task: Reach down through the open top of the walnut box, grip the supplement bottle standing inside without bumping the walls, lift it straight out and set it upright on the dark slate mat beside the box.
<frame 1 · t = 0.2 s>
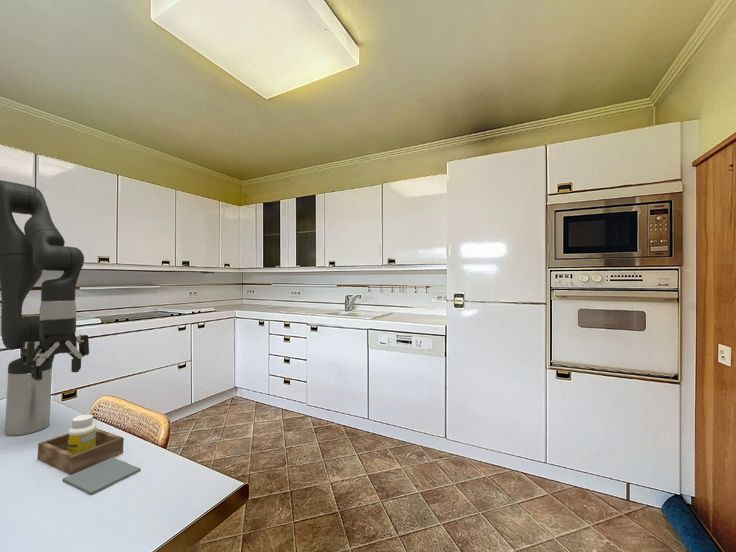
hand: (57, 375, 92), 18 cm above the table, tool pointing down, fingers open, 8 cm apart
slate mat: (102, 475, 76), on the table
supplement bottle: (81, 457, 84), resting in walnut box
walnut box: (81, 456, 84), on the table
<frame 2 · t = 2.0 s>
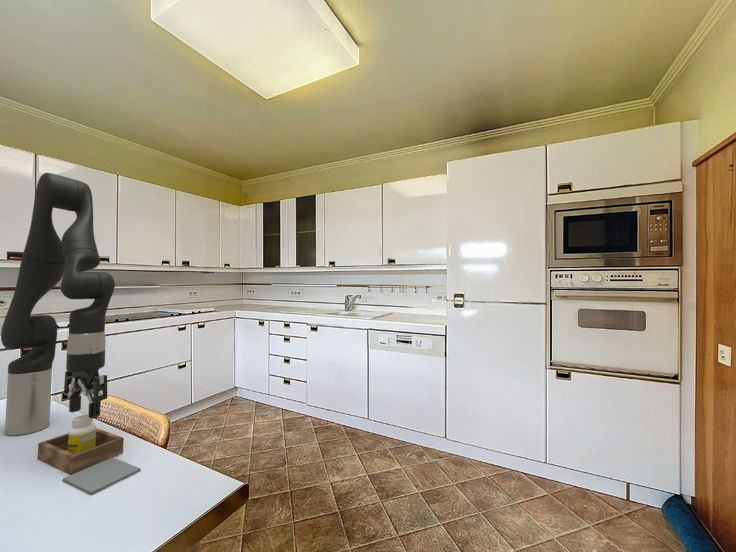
hand: (84, 414, 84), 11 cm above the table, tool pointing down, fingers open, 8 cm apart
nothing on the table moved.
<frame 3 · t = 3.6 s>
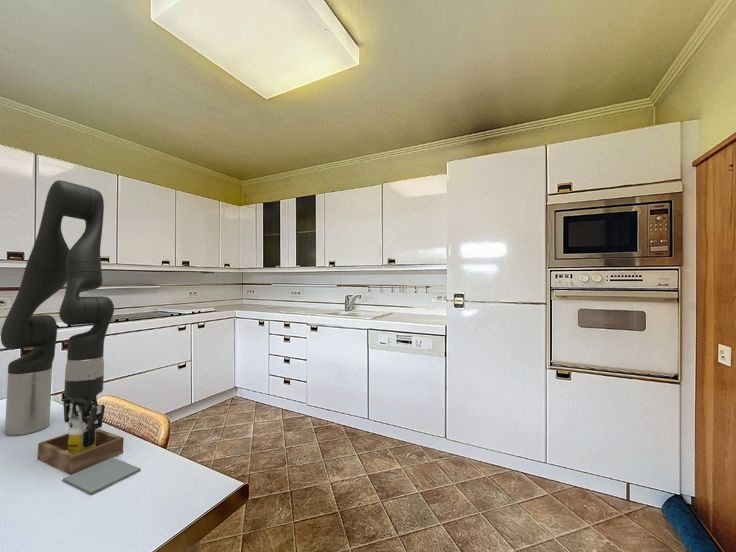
hand: (81, 442, 84), 4 cm above the table, tool pointing down, fingers closed on supplement bottle, 5 cm apart
supplement bottle: (81, 457, 84), resting in walnut box, touching gripper
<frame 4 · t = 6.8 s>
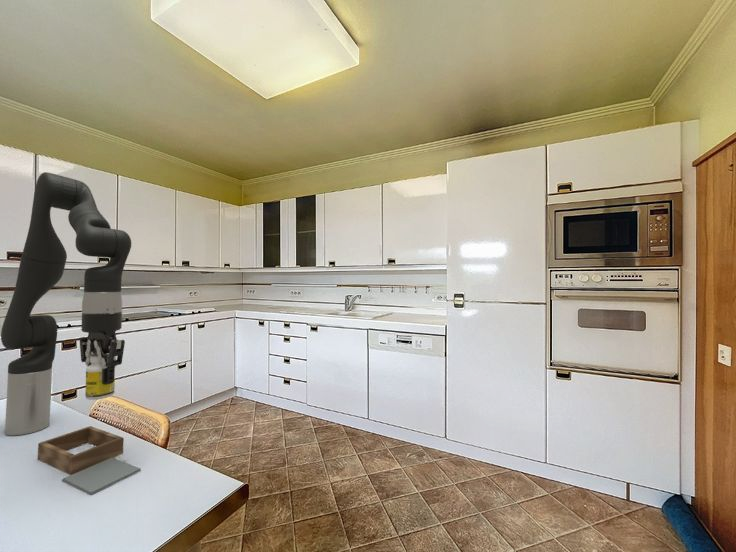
hand: (100, 381, 79), 20 cm above the table, tool pointing down, fingers closed on supplement bottle, 5 cm apart
supplement bottle: (100, 397, 79), point 17 cm above the table, touching gripper
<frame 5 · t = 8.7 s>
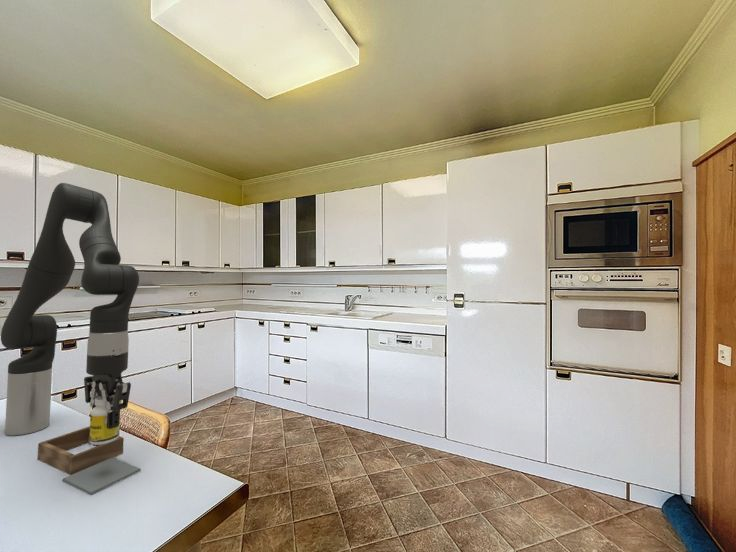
hand: (105, 424, 76), 12 cm above the table, tool pointing down, fingers closed on supplement bottle, 5 cm apart
supplement bottle: (104, 440, 76), point 8 cm above the table, touching gripper
when the fingers open (5 cm above the table, at t = 10.3 s): supplement bottle drops 1 cm, resting on slate mat.
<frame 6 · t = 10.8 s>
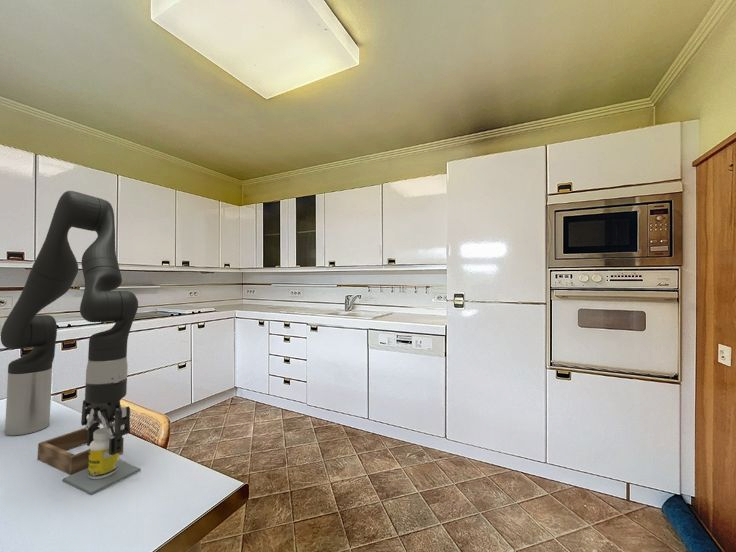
hand: (103, 449, 76), 6 cm above the table, tool pointing down, fingers open, 8 cm apart
supplement bottle: (103, 474, 76), resting on slate mat
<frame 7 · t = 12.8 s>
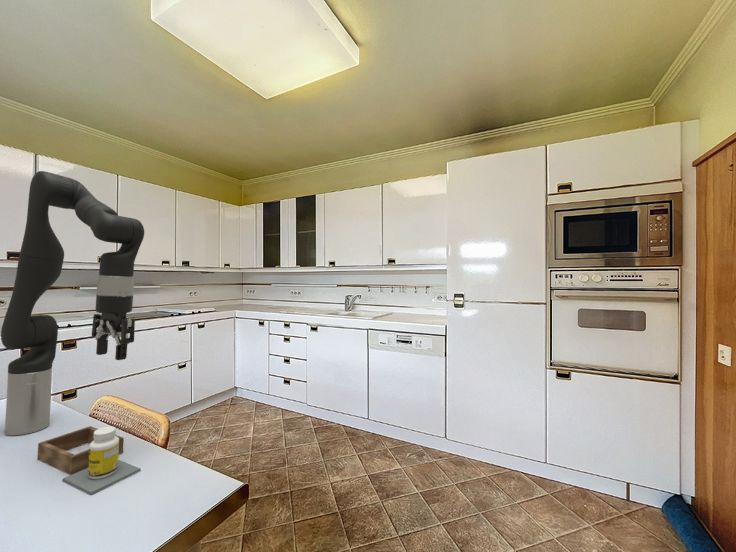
hand: (111, 356, 85), 25 cm above the table, tool pointing down, fingers open, 8 cm apart
nothing on the table moved.
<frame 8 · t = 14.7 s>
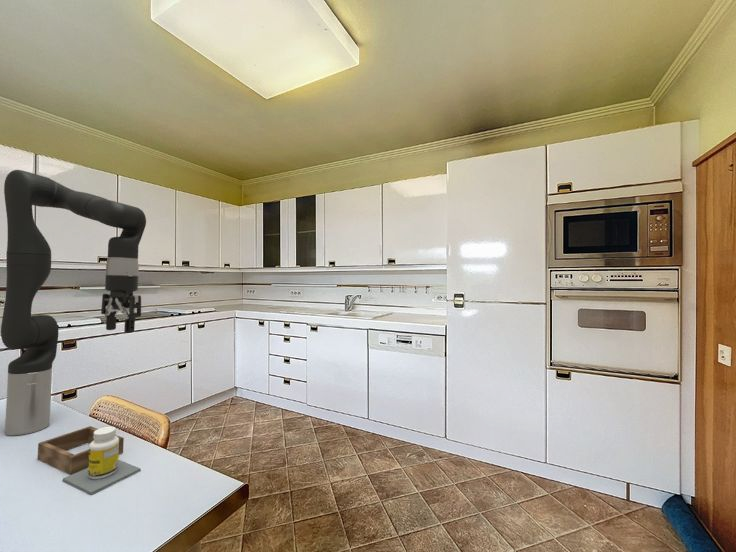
hand: (120, 331, 94), 30 cm above the table, tool pointing down, fingers open, 8 cm apart
nothing on the table moved.
at the end: supplement bottle inside the target area on the slate mat (0.0 cm from its centre), point 0.4 cm above the slate mat's base; supplement bottle tilted 0°; the gripper is holding nothing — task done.
